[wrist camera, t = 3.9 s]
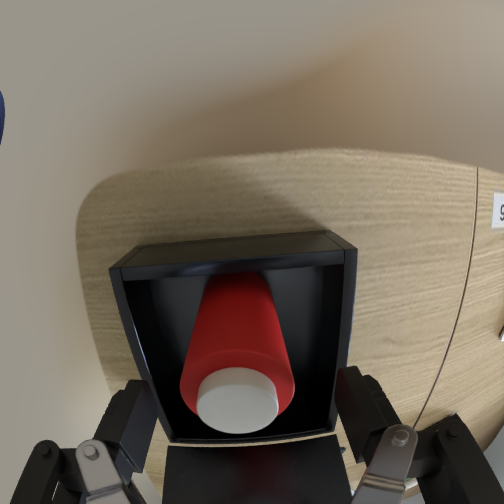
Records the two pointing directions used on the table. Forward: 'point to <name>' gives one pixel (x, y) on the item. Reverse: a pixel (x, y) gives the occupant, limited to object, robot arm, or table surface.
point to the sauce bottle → (237, 357)
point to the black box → (287, 308)
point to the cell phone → (502, 336)
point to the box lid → (258, 474)
